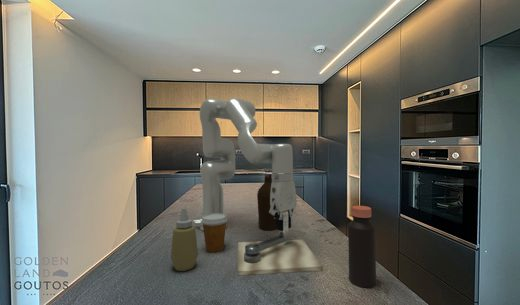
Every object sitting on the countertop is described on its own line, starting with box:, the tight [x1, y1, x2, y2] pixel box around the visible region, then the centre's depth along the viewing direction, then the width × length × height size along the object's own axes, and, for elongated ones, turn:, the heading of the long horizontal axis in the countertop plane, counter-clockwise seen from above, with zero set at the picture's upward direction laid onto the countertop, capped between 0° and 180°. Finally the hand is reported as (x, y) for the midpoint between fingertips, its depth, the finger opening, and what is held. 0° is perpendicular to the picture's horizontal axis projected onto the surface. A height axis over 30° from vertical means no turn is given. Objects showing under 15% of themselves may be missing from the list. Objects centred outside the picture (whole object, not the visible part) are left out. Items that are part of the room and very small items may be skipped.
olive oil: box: [256, 173, 276, 231], centre depth 111 cm, size 11×11×25 cm
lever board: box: [237, 239, 324, 276], centre depth 80 cm, size 25×22×3 cm
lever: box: [245, 211, 290, 256], centre depth 81 cm, size 19×4×12 cm, turn 133°
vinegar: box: [347, 205, 377, 289], centre depth 64 cm, size 7×7×20 cm
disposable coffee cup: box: [201, 213, 229, 253], centre depth 87 cm, size 10×10×12 cm
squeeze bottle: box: [170, 208, 199, 272], centre depth 74 cm, size 8×8×18 cm
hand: (283, 228), depth 86 cm, fingers closed on lever, 3 cm apart
